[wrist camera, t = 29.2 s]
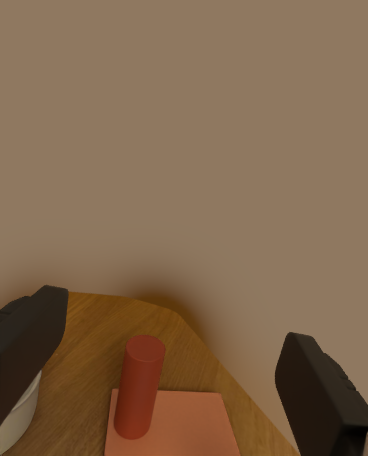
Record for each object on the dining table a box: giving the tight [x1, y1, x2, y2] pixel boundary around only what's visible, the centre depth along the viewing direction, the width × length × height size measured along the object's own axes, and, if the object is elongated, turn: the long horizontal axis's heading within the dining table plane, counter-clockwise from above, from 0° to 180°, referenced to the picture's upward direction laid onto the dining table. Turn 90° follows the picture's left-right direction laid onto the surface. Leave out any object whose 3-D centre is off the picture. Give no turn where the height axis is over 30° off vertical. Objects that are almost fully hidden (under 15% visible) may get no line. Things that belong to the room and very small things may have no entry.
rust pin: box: [113, 335, 165, 440], centre depth 34 cm, size 5×5×11 cm
